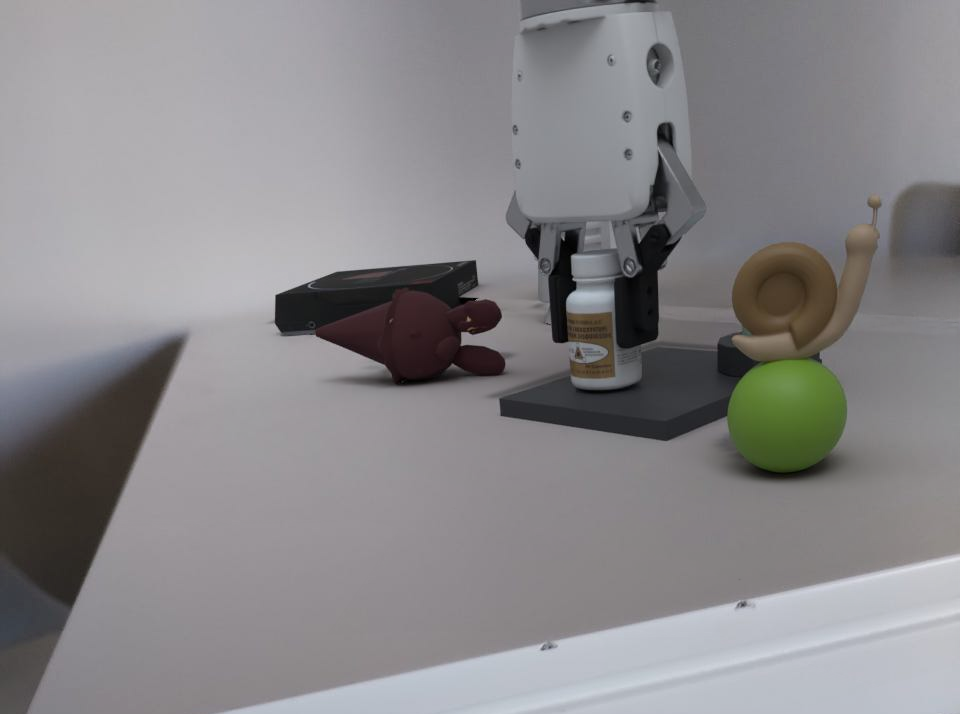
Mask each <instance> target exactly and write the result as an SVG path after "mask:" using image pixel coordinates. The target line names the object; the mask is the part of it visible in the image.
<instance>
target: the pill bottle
mask: <svg viewBox="0 0 960 714" xmlns="http://www.w3.org/2000/svg"><path fill="white" fill-rule="evenodd" d="M571 266H572V275H573V276H574V277H573V279H572V280H573V281H576V282H577V289H576V290H575V291H573V292H572V293H571V294H570V295H569V296H568V298H567V301H566V314H567V327H568V340H569V342H568V355H569V357H568V358H569V367H570V375H571V382H572V384H573V385H574V386H575V387H577V388H580V389H586V390H612V389H619V388H624V387H627V386H630V385H633V384H635V383H637V382H638V381H639V380H640V379H641V377H642V360H641V352H642V345H638V346H635V347H632V348H629V349H627V348H620V347H619V345H618V344H617V341H616V319H615V298H614V282H615V278H618V277H622V276H624V274H623V272H622V269H621V265H620V260H619V255H618V251H617V247H616V248H615V247H614V248H611V249H599V250H591V251H585V252H579V253H576V254H573V255H572V256H571Z"/></svg>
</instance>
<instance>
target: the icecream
mask: <svg viewBox="0 0 960 714" xmlns="http://www.w3.org/2000/svg"><path fill="white" fill-rule="evenodd" d="M392 298H393V301H390V302H387V303H385V304H382V305H379V306H376V307H374V308H371V309H368V310H366V311H363V312H360V313H357V314H355V315H352V316H349V317H347V318H344V319H341V320H338V321H336V322H333V323H330V324H328V325H325V326H322V327H320V328H318V329H316V330H315V334H314V335H315V337H317V338H319V339H321V340H324V341H326V342H328V343H330V344H333V345H336V346H338V347H341V348H344V349H346V350H348V351H350V352H353V353H355V354H358V355H360V356H362V357H364V358H366V359H370V360H372V361H374V362H376V363H377V364H378V363H379V364H381V365H383V366H385V367H386V369H387V370H388V371H389V372H390V376H391V379H392V381H393V382H394V383H395V384H396V385H400V384H402V383H403V382H405V381H407V380H410V381H413V382H417V381H418V382H419V381H430V380H432V379H435V378H437V377H439V376H441V375H442V374H444V373H445V372H446V371H447V370H448V369H449V368H450V367H451V366H452V365H454V366H456V367H457V368H459V369H461V370H463V371H464V372H467V373H470V374H473V375H476V376H479V377H488V376H489V377H490V376H491V377H492V376H493V377H494V376H499V375H500V374H502V373H503V371H504V370H505V369H506V358H505V357H503V355H502V354H501V353H500V352H499V351H498V350H495V349H492V348H489V347H488V346H484V345H473V344H463V345H462V333H468V334H470V335H472V336H474V335H478V334H479V335H480V334H483V333H486V332H490V331H492V330H493V329H494V328H496V327H497V326H498V324H499V323H500V321H502V319H503V314H502V311H501V308H500V307H499V306H498V304H497V302H495V301H493V300H490V299H487V298H484V299H480V300H476V301H468V302H467V303H465V304H464V305H460V306H458V307H456V308H454V309H451V308H450V307H449V306H448V305H447V304H445V303H444V302H442V301H441V300H439V299H438V298H436V297H434V296H432V295H430V294H429V293H425V292H419V291H413V290H412V291H410V290H409V289H408V288H406V287H405V288H403V289H401V290H400V289H397V290H396V291H395V292H394V293H393V295H392ZM404 380H405V381H404ZM402 381H403V382H402ZM401 382H402V383H401ZM399 383H400V384H399Z"/></svg>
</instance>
